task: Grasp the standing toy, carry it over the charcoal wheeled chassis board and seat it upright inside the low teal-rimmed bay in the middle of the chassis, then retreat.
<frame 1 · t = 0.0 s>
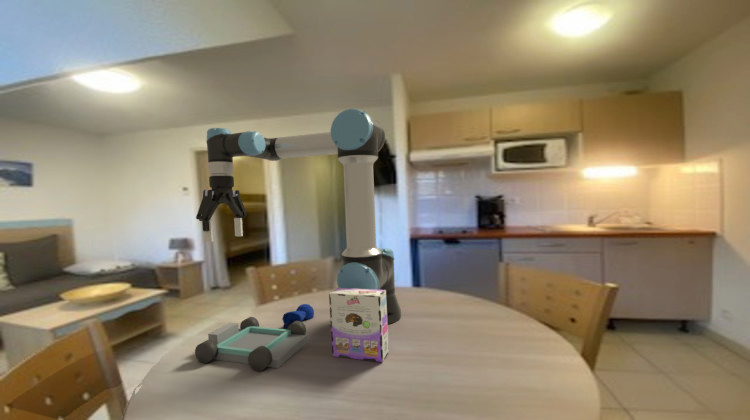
hand: (224, 238, 110), 28 cm above the table, fingers open, 13 cm apart
candy box: (360, 355, 83), on the table
chassis: (254, 349, 88), on the table
toy: (299, 324, 106), on the table
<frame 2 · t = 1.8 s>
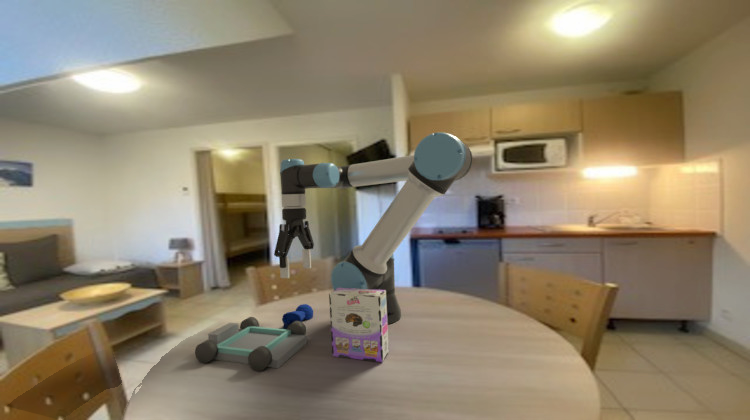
hand: (296, 272, 106), 16 cm above the table, fingers open, 13 cm apart
nothing on the table moved.
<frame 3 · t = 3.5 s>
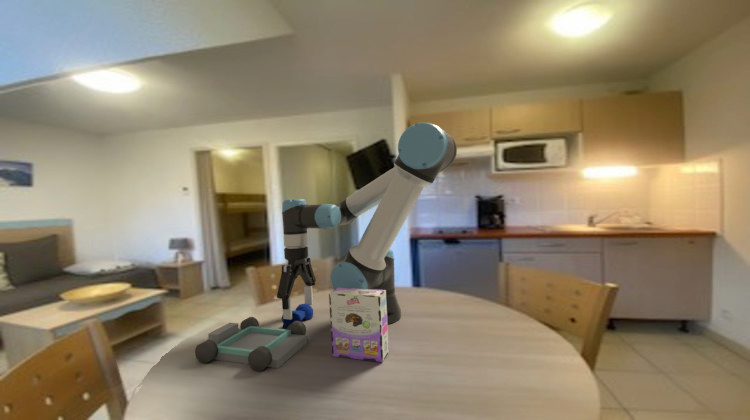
hand: (299, 311, 106), 4 cm above the table, fingers closed on toy, 13 cm apart
toy: (299, 323, 106), on the table, touching gripper
everything else where it was.
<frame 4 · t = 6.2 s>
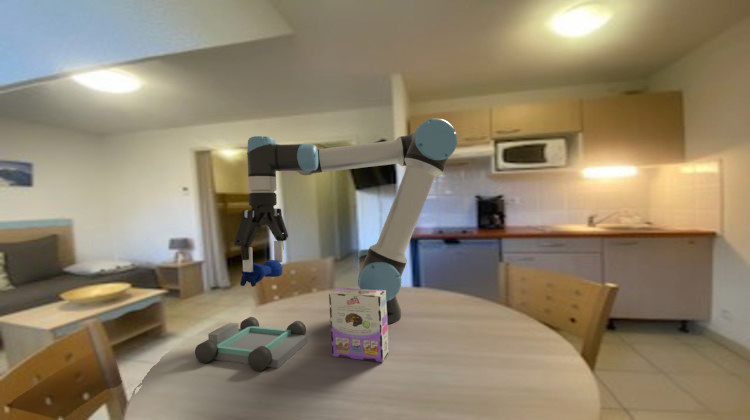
hand: (264, 266, 93), 21 cm above the table, fingers closed on toy, 13 cm apart
toy: (263, 280, 93), point 17 cm above the table, touching gripper
everything else where it was.
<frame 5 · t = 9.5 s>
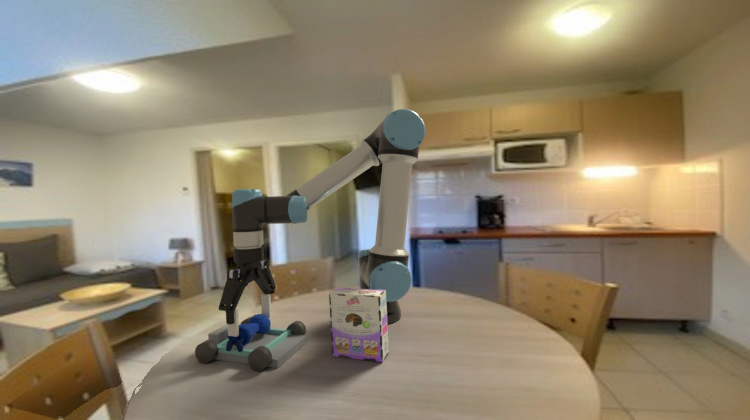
hand: (251, 325, 88), 7 cm above the table, fingers closed on toy, 13 cm apart
toy: (251, 339, 87), point 3 cm above the table, touching chassis, gripper
everything else where it was.
when the fingers open (7 cm above the table, at t = 9.8 s): toy stays where it is, resting on chassis.
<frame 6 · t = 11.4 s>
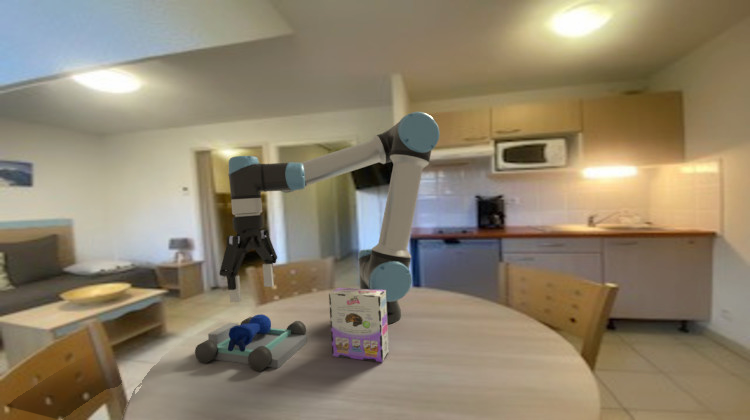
hand: (253, 293, 87), 15 cm above the table, fingers open, 13 cm apart
toy: (252, 339, 87), point 3 cm above the table, touching chassis
everything else where it was.
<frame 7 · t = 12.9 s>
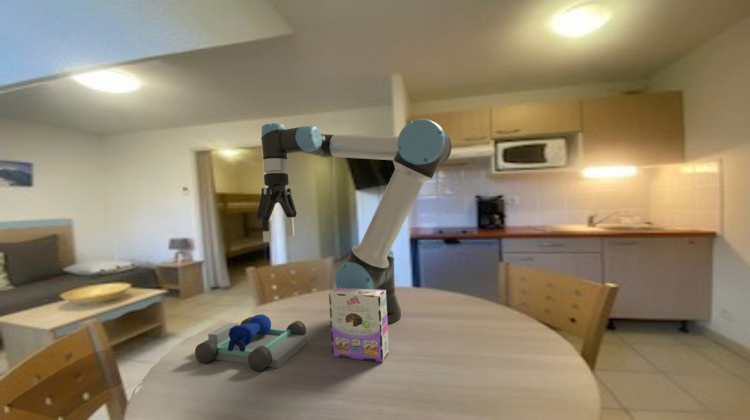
hand: (279, 239, 105), 28 cm above the table, fingers open, 13 cm apart
nothing on the table moved.
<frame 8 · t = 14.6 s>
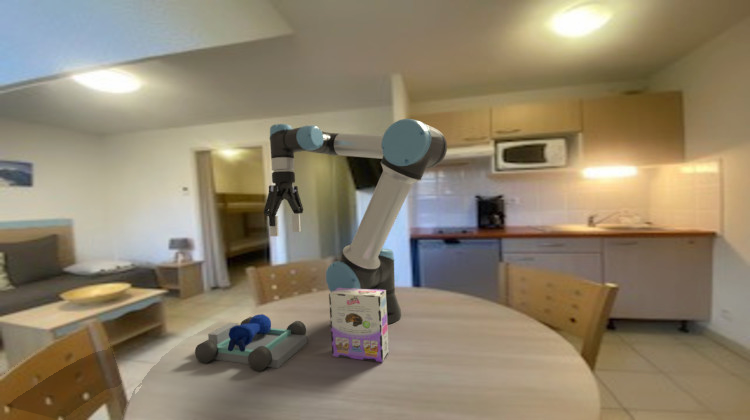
hand: (286, 233, 111), 29 cm above the table, fingers open, 13 cm apart
nothing on the table moved.
at the end: toy inside the target area on the chassis (0.6 cm from its centre), point 3.0 cm above the chassis's base; the gripper is holding nothing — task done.
